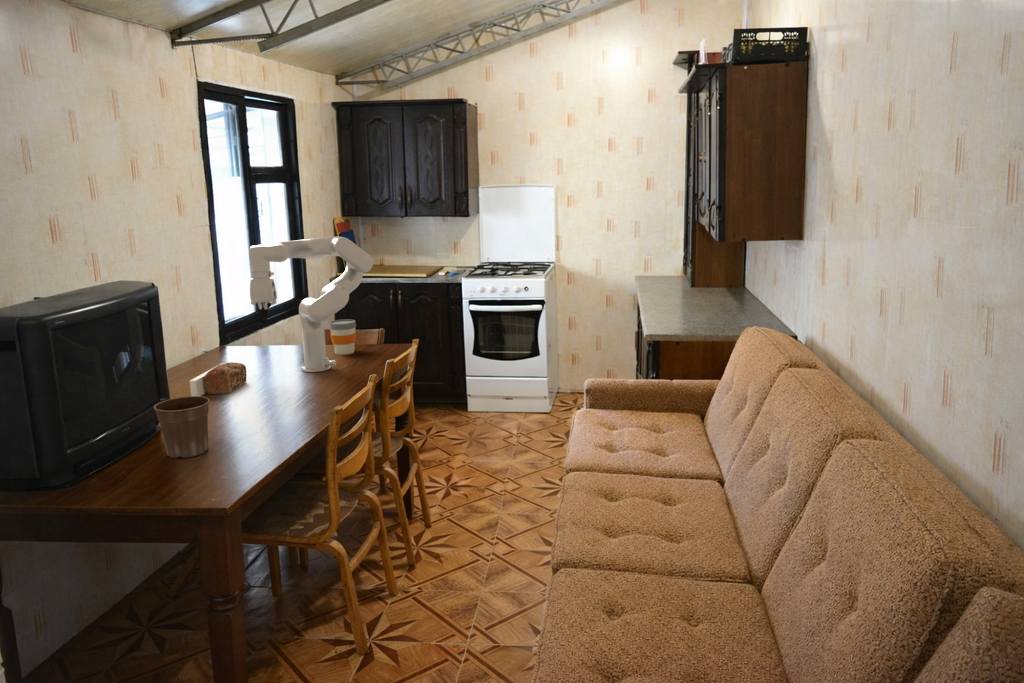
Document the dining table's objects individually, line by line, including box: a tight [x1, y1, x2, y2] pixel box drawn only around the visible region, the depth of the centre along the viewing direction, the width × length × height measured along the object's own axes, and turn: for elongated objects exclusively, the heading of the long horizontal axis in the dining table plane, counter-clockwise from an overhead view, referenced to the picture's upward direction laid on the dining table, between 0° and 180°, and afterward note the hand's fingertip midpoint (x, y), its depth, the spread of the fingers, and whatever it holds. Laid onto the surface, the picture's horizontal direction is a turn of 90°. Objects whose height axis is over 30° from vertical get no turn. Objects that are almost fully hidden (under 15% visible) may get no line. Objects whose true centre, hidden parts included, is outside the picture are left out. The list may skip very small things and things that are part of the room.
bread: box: [204, 361, 248, 395], centre depth 328 cm, size 19×11×10 cm, turn 175°
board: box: [189, 362, 226, 397], centre depth 329 cm, size 2×28×7 cm, turn 174°
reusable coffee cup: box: [329, 318, 357, 356], centre depth 386 cm, size 13×13×15 cm
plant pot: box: [153, 395, 211, 459], centre depth 253 cm, size 16×16×16 cm
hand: (265, 318), depth 342 cm, fingers closed
